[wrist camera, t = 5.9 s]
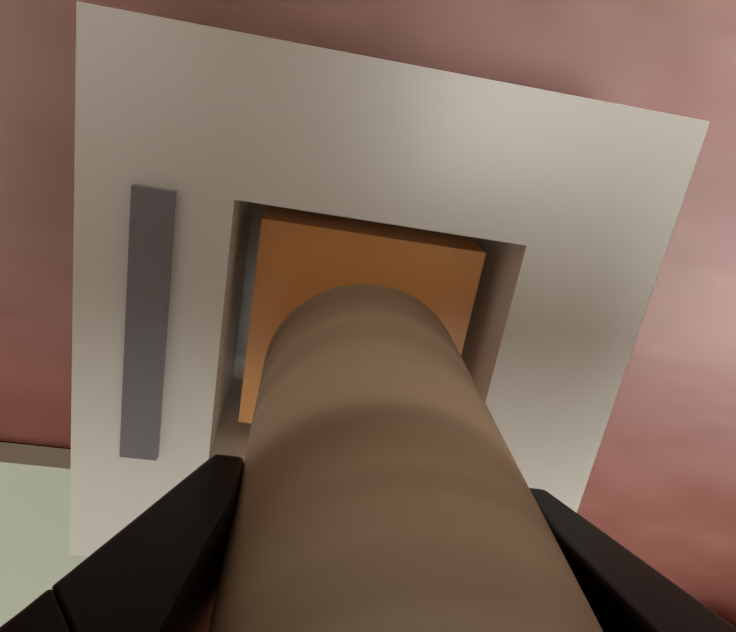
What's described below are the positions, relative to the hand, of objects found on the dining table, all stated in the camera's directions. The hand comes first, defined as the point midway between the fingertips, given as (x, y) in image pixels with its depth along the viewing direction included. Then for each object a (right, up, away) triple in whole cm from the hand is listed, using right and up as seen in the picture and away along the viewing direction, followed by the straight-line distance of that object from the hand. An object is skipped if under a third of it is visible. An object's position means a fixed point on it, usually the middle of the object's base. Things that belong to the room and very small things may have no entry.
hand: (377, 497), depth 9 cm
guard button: (0, +3, +7) cm, 7 cm away
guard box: (-1, +4, +9) cm, 10 cm away
